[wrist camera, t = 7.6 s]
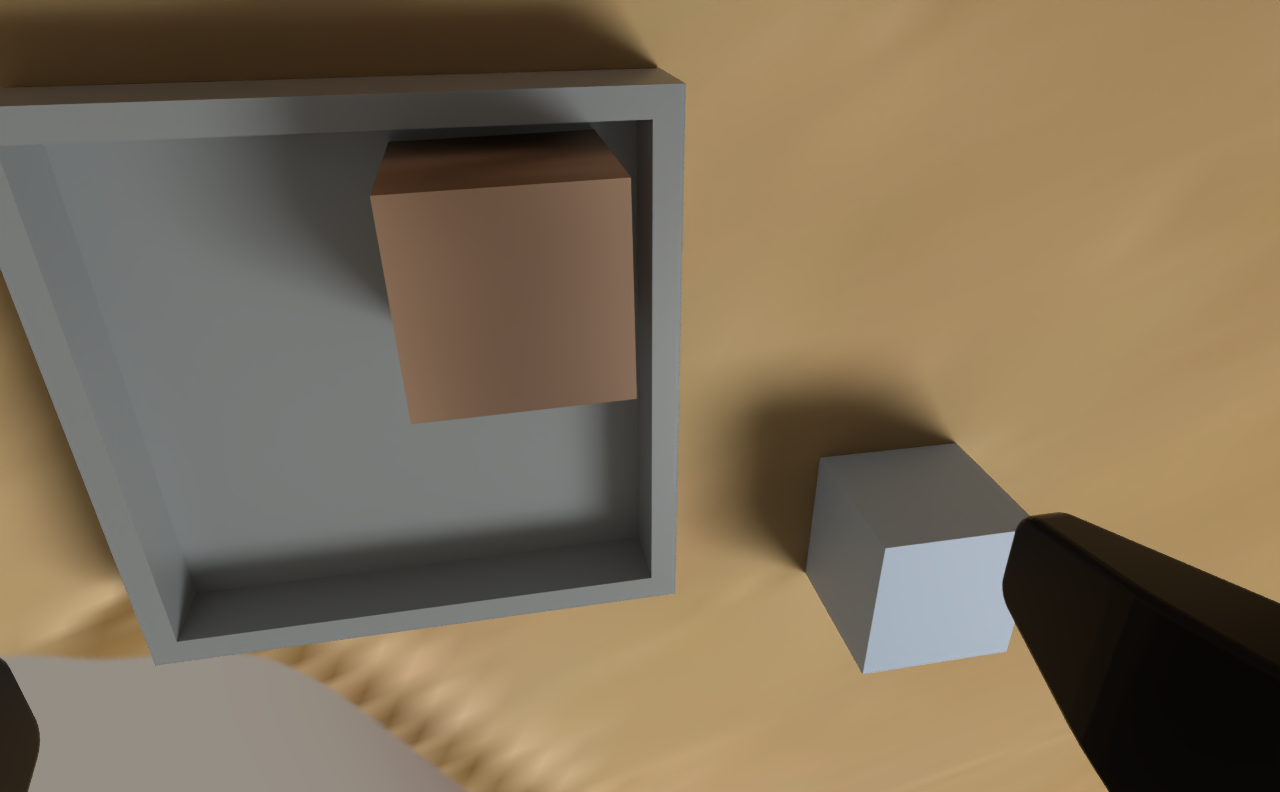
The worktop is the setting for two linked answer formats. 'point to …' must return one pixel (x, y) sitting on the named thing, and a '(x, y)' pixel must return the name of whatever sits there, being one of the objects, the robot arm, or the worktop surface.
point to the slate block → (912, 555)
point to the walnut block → (508, 272)
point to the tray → (323, 358)
